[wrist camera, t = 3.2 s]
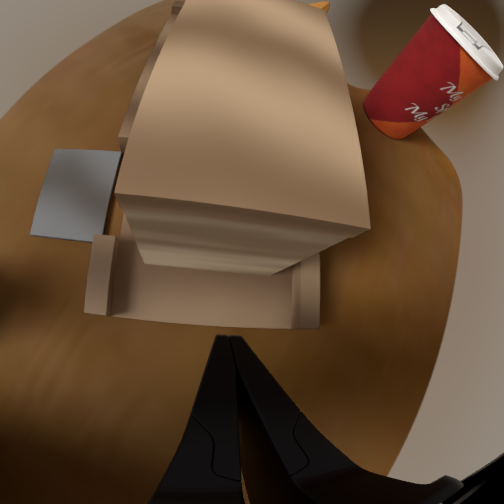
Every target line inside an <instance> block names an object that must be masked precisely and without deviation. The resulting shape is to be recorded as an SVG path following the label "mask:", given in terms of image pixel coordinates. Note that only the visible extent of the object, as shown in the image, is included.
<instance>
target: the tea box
mask: <svg viewBox="0 0 504 504" xmlns="http://www.w3.org/2000/svg"><path fill="white" fill-rule="evenodd" d="M114 194H115V196H116V199H117V202H118V204H119V207H120V208H123V211H124V213H125V216H126V219H127V221H128V224H129V227H130V229H131V232H132V234H133V237H134V239H135V242H136V244H137V247H138V249H139V251H140V254H141V256H142V259H143V261H144V263H145V264H153V265H162V266H172V267H182V268H191V269H202V270H212V271H223V272H233V273H245V274H256V275H268V276H270V275H272V274H274V273H277V272H279V271H281V270H283V269H285V268H287V267H289V266H291V265H293V264H295V263H298V262H300V261H302V260H304V259H306V258H308V257H310V256H312V255H314V254H316V253H318V252H320V251H322V250H324V249H326V248H328V247H330V246H333V245H335V244H337V243H339V242H341V241H343V240H345V239H347V238H353V237H355V236H357V235H360V234H362V233H364V232H366V231H368V230H370V229H371V226H370V216H369V206H368V197H367V189H366V182H365V174H364V168H363V161H362V155H361V149H360V143H359V138H358V132H357V127H356V122H355V117H354V113H353V108H352V103H351V99H350V95H349V90H348V86H347V82H346V78H345V74H344V71H343V67H342V63H341V60H340V57H339V53H338V49H337V46H336V43H335V39H334V36H333V33H332V30H331V27H330V24H329V21H328V18H327V15H326V12H325V10H322V9H320V8H317V7H314V6H311V5H308V4H305V3H302V2H299V1H296V0H186V1H185V3H184V5H183V7H182V9H181V11H180V13H179V14H178V16H177V18H176V20H175V22H174V24H173V26H172V28H171V30H170V32H169V34H168V37H167V39H166V41H165V43H164V45H163V47H162V50H161V52H160V54H159V56H158V59H157V61H156V63H155V66H154V68H153V71H152V73H151V76H150V78H149V81H148V83H147V86H146V88H145V91H144V94H143V96H142V99H141V102H140V105H139V108H138V111H137V114H136V117H135V120H134V123H133V126H132V129H131V132H130V135H129V139H128V142H127V145H126V149H125V152H124V156H123V160H122V163H121V167H120V171H119V175H118V179H117V183H116V187H115V192H114Z"/></svg>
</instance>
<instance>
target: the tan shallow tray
mask: <svg viewBox="0 0 504 504" xmlns="http://www.w3.org/2000/svg"><path fill="white" fill-rule="evenodd" d="M184 3H185V2H181V1H175V2H174V4H173V6H172V11H171V15H170V17H169V19H168V21H167V23H166V25H165V26H164V28H163V30H162V32H161V34H160V36H159V38H158V40H157V42H156V44H155V46H154V48H153V50H152V52H151V55H150V57H149V59H148V61H147V63H146V65H145V68H144V70H143V72H142V75H141V77H140V79H139V82H138V84H137V87H136V89H135V92H134V94H133V97H132V99H131V102H130V105H129V107H128V110H127V113H126V115H125V118H124V121H123V124H122V127H121V130H120V133H119V136H118V138H119V143H120V148H121V152H116V151H100V150H79V149H55V151H54V153H53V156H52V159H51V162H50V165H49V167H48V170H47V173H46V177H45V180H44V183H43V186H42V189H41V193H40V196H39V200H38V204H37V207H36V211H35V215H34V219H33V224H32V228H31V232H30V235H32V236H38V237H46V238H55V239H64V240H72V241H81V242H90V243H92V248H91V255H90V261H89V269H88V276H87V285H86V294H85V305H84V312H85V313H92V314H99V315H106V316H115V317H123V318H131V319H139V320H149V321H158V322H169V323H180V324H193V325H207V326H224V327H245V328H277V329H319V328H320V252H318V253H316V254H314V255H312V256H310V257H308V258H306V259H304V260H302V261H300V262H298V263H295V264H293V265H291V266H289V267H287V268H285V269H283V270H281V271H279V272H277V273H274V274H272V275H270V276H268V275H256V274H245V273H233V272H223V271H212V270H202V269H191V268H182V267H172V266H162V265H153V264H145V263H144V261H143V259H142V256H141V254H140V251H139V249H138V247H137V244H136V242H135V239H134V237H133V234H132V232H131V229H130V227H129V224H128V221H127V219H126V216H125V213H124V216H123V221H122V227H121V233H120V239H119V241H118V240H117V238H116V236H109V235H104V229H105V224H106V219H107V214H108V209H109V204H110V199H111V195H112V191H113V186H114V182H115V178H116V174H117V170H118V166H119V163H120V159H121V155H122V154H124V152H125V149H126V145H127V142H128V139H129V135H130V132H131V129H132V126H133V123H134V120H135V117H136V114H137V111H138V108H139V105H140V102H141V99H142V96H143V94H144V91H145V88H146V86H147V83H148V81H149V78H150V76H151V73H152V71H153V68H154V66H155V63H156V61H157V59H158V56H159V54H160V52H161V50H162V47H163V45H164V43H165V41H166V39H167V37H168V34H169V32H170V30H171V28H172V26H173V24H174V22H175V20H176V18H177V16H178V14H179V13H180V11H181V9H182V7H183V5H184Z"/></svg>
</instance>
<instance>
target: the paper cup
mask: <svg viewBox="0 0 504 504" xmlns="http://www.w3.org/2000/svg"><path fill="white" fill-rule="evenodd" d="M430 11H431V12H432V14H431V15H430V16H429V18H428V19H427V20H426V21H425V23H424V24H423V25H422V26H421V28H420V29H419V30H418V31H417V33H416V34H415V35H414V36H413V38H412V39H411V40H410V41H409V43H408V44H407V45H406V46H405V48H404V49H403V50H402V51H401V53H400V54H399V55H398V56H397V58H396V59H395V60H394V61H393V63H392V64H391V65H390V66H389V68H388V69H387V70H386V72H385V73H384V74H383V75H382V77H381V78H380V79H379V81H378V82H377V83H376V84H375V86H374V87H373V88H372V90H371V91H370V92H369V94H368V95H367V96H366V98H365V100H364V103H363V105H364V110H365V112H366V115H367V116H368V118H369V120H370V121H371V122H372V123H373V125H374V126H375V127H376V128H377V129H378V130H379V131H381V132H382V133H383V134H385V135H386V136H388V137H390V138H392V139H397V140H399V139H402V138H404V137H406V136H407V135H409V134H410V133H412V132H414V131H415V130H417V129H418V128H420V127H421V126H423V125H424V124H426V123H427V122H429V121H430V120H432V119H433V118H435V117H436V116H438V115H439V114H441V113H442V112H444V111H445V110H447V109H448V108H450V107H451V106H452V105H454V104H455V103H457V102H458V101H460V100H461V99H463V98H464V97H466V96H467V95H469V94H470V93H472V92H473V91H475V90H476V89H478V88H479V87H481V86H482V85H484V84H485V83H487V82H488V81H490V80H491V79H493V78H494V79H495V80H498V78H499V76H498V74H499V73H500V72H501V70H502V69H503V65H502V63H501V62H500V60H499V59H498V57H497V56H496V54H495V53H494V52H493V50H492V49H491V48H490V46H489V45H488V44H487V43H486V42H485V41H484V39H483V38H482V37H481V36H480V35H479V34H478V33H477V32H476V31H475V30H474V29H473V28H472V27H471V26H470V25H469V24H468V23H467V22H466V21H465V20H464V19H463V18H462V17H461V16H460V15H458V14H457V13H456V12H455V11H454V10H452V9H451V8H450V7H448V6H447V5H445V4H444V5H441V6H439V7H438V8H436V9H435V8H431V9H430Z"/></svg>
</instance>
